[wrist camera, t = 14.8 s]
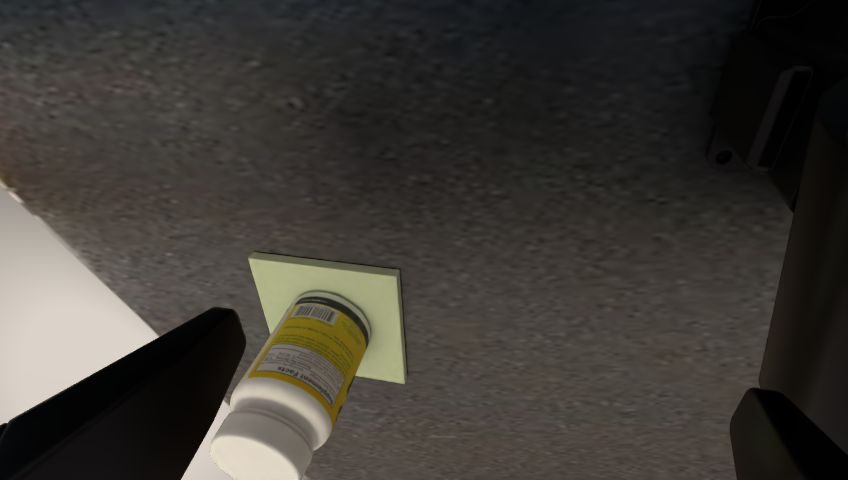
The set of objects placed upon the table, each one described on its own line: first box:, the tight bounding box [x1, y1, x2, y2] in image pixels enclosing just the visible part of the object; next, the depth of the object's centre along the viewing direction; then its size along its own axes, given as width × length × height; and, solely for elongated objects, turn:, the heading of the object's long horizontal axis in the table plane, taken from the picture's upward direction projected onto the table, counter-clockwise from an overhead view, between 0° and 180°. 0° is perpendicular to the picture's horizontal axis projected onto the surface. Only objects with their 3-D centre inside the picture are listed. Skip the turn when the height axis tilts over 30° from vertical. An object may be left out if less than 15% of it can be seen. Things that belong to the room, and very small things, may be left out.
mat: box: [248, 252, 407, 384], centre depth 26 cm, size 8×8×1 cm
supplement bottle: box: [210, 292, 370, 480], centre depth 23 cm, size 5×5×8 cm
